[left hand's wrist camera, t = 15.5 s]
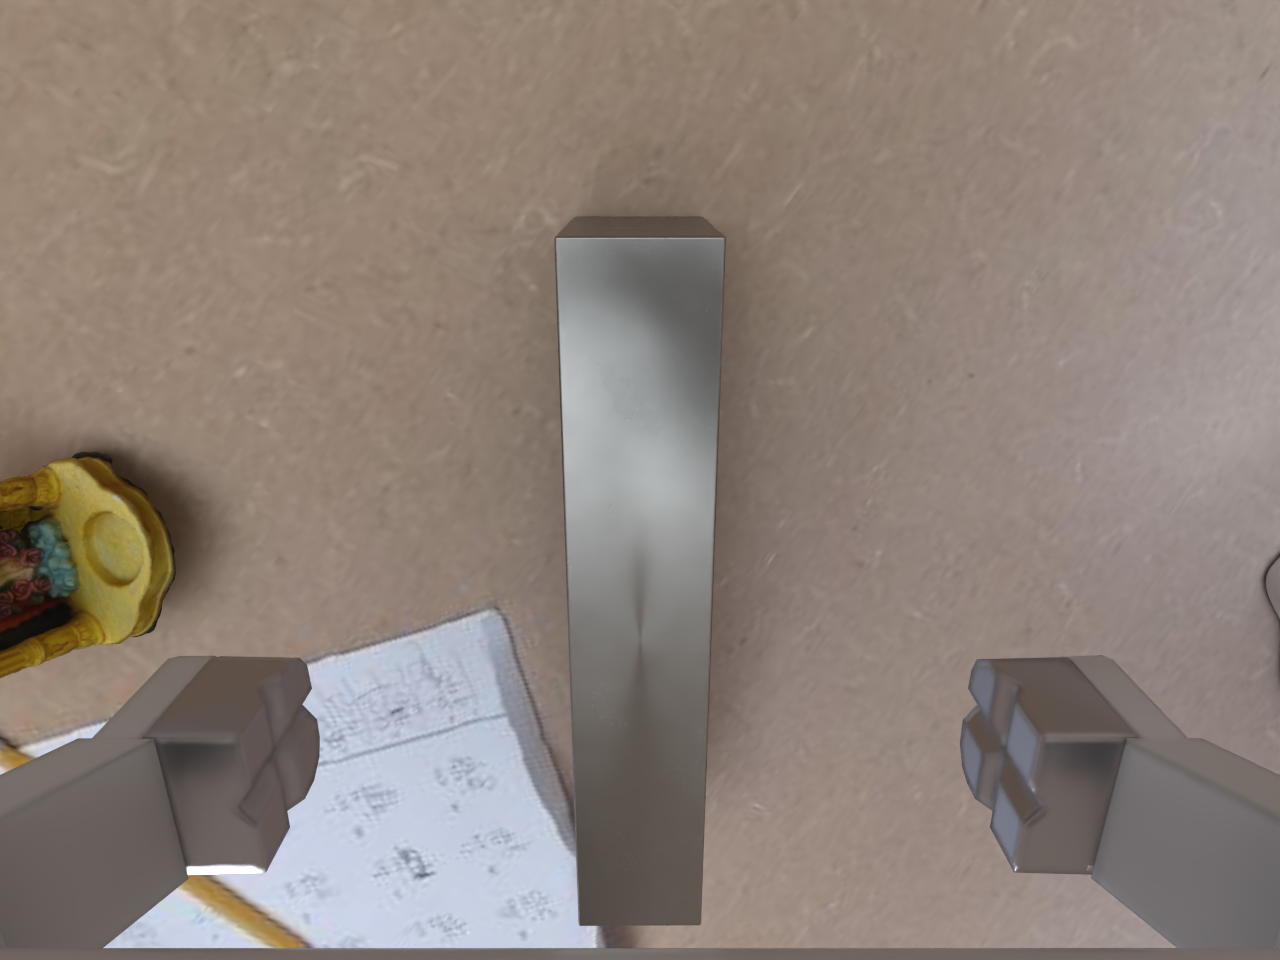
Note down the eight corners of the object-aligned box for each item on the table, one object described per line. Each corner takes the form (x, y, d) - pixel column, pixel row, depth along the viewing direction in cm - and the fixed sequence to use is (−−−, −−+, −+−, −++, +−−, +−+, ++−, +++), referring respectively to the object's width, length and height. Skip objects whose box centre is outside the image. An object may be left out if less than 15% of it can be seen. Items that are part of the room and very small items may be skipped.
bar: (574, 216, 32) (554, 236, 24) (703, 216, 32) (725, 236, 25) (589, 781, 42) (578, 926, 34) (688, 781, 42) (700, 925, 34)
